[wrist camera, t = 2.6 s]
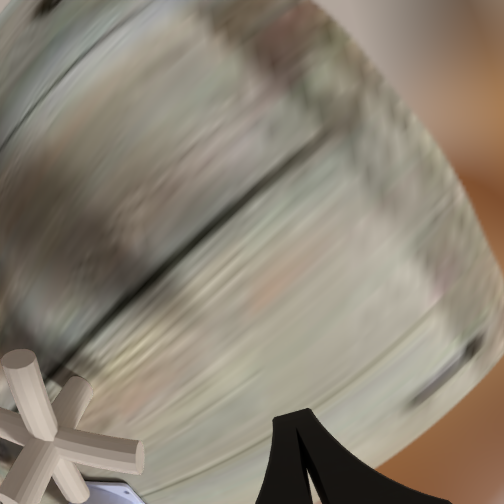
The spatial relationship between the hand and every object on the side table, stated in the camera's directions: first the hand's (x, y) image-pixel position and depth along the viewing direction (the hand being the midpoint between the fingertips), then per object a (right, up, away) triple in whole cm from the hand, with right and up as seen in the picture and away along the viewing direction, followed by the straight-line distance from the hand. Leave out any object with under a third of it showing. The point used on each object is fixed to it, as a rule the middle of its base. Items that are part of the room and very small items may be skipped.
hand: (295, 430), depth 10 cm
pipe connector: (-12, -2, +6) cm, 14 cm away
